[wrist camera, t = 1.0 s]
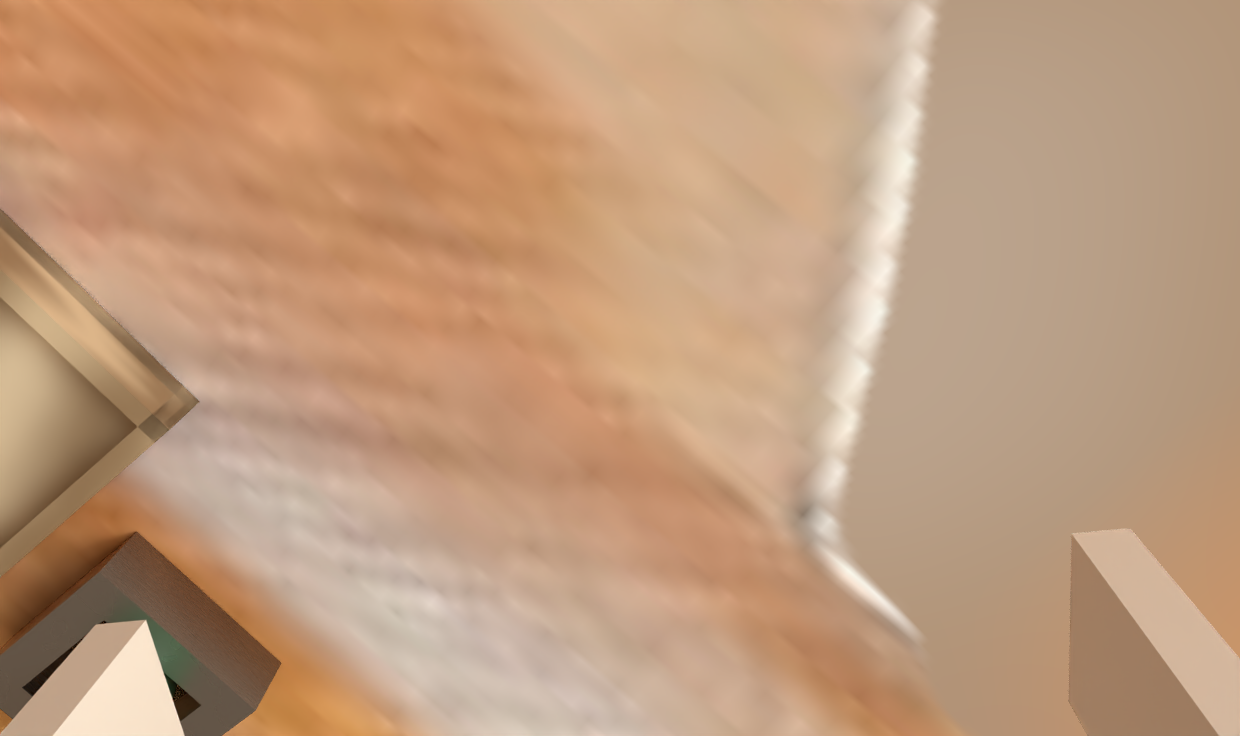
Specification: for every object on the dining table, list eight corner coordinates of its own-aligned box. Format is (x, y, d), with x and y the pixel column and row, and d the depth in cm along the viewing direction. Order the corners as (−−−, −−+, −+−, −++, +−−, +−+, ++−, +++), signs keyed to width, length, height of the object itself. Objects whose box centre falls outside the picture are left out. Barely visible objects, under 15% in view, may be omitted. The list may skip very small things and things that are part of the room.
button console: (12, 637, 44) (-33, 682, 41) (136, 531, 42) (99, 571, 39) (156, 758, 46) (123, 809, 43) (281, 663, 44) (255, 710, 41)
